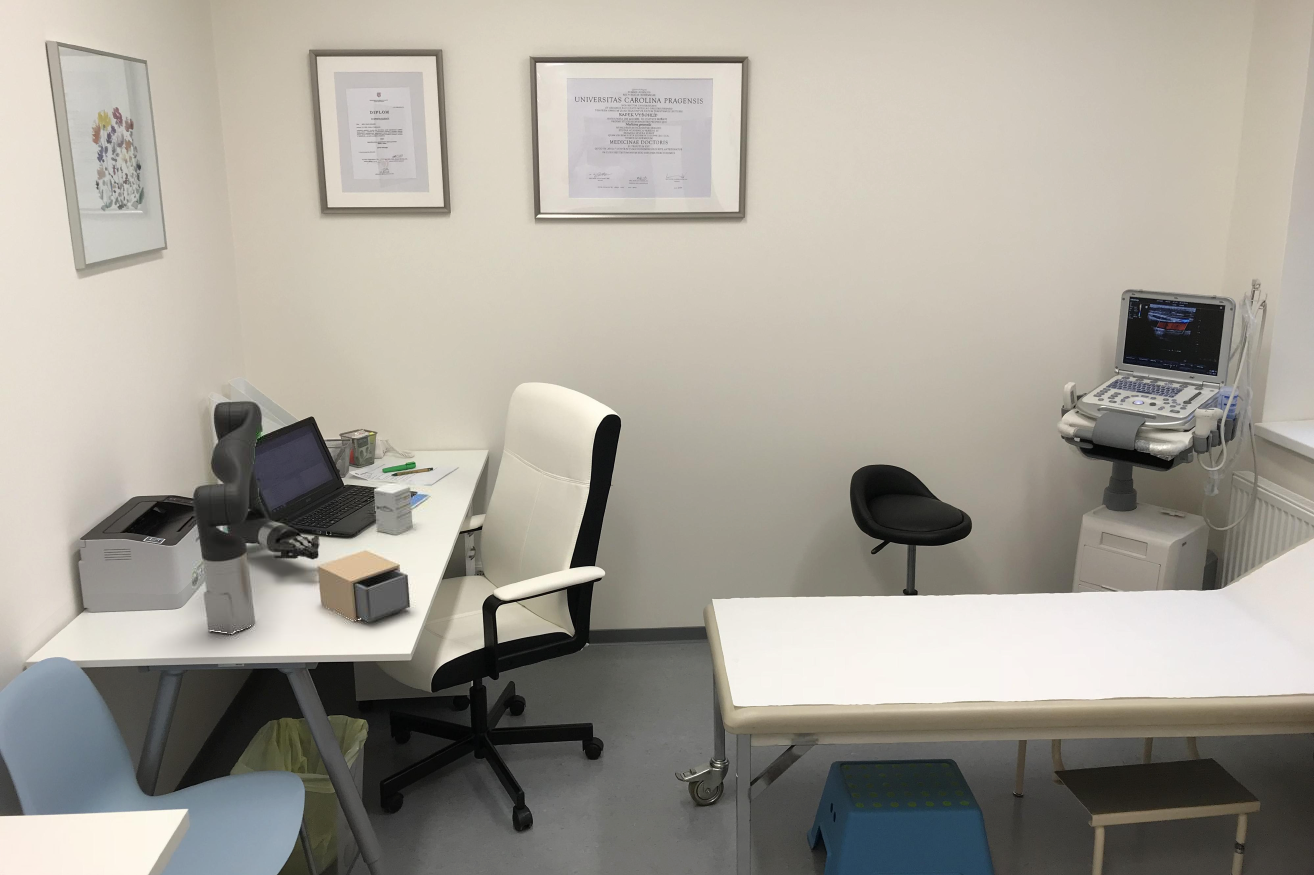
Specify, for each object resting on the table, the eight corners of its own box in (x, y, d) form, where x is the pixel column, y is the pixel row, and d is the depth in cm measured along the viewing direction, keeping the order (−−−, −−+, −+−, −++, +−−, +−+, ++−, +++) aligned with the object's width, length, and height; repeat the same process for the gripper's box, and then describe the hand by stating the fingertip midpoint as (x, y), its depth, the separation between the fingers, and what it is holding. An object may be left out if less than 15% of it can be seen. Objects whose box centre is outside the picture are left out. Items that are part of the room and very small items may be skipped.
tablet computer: (394, 495, 321) (394, 491, 321) (431, 497, 318) (431, 493, 318) (363, 515, 303) (363, 510, 302) (402, 518, 300) (402, 514, 300)
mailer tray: (321, 598, 241) (318, 566, 239) (361, 584, 249) (359, 553, 247) (368, 622, 228) (366, 589, 226) (410, 606, 236) (407, 574, 234)
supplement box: (376, 531, 288) (372, 489, 284) (394, 523, 294) (390, 482, 291) (396, 535, 284) (392, 493, 281) (413, 527, 291) (410, 485, 287)
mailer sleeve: (321, 605, 240) (317, 565, 237) (369, 588, 249) (365, 550, 247) (354, 622, 231) (350, 581, 228) (402, 604, 240) (399, 564, 238)
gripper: (253, 531, 256) (289, 548, 245) (301, 518, 265) (337, 533, 254) (256, 559, 258) (292, 577, 247) (304, 545, 267) (340, 561, 256)
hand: (315, 555), depth 250 cm, fingers closed
